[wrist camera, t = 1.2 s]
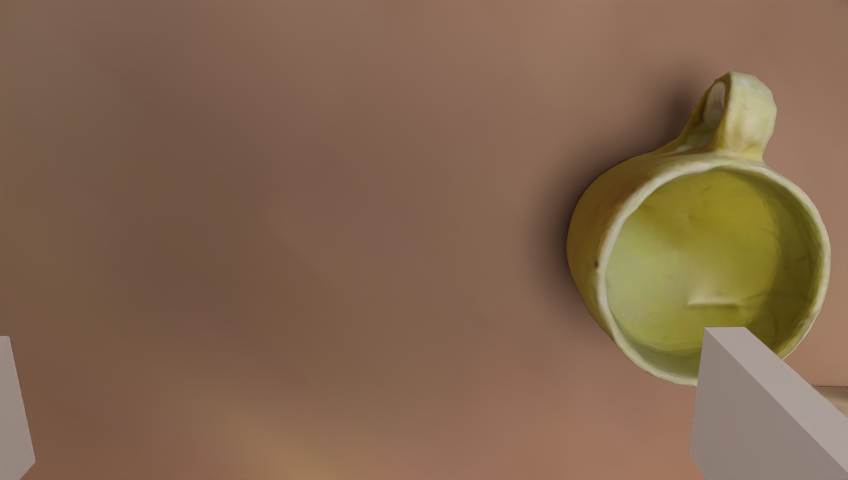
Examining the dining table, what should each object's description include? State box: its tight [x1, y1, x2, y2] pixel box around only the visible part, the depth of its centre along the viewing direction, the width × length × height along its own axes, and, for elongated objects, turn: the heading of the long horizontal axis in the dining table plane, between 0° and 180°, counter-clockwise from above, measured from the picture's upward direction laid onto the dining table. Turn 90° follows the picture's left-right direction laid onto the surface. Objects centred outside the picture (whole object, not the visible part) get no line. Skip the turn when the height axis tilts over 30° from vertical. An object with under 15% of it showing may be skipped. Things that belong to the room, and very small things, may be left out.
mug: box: [566, 71, 831, 387], centre depth 29 cm, size 12×10×10 cm
